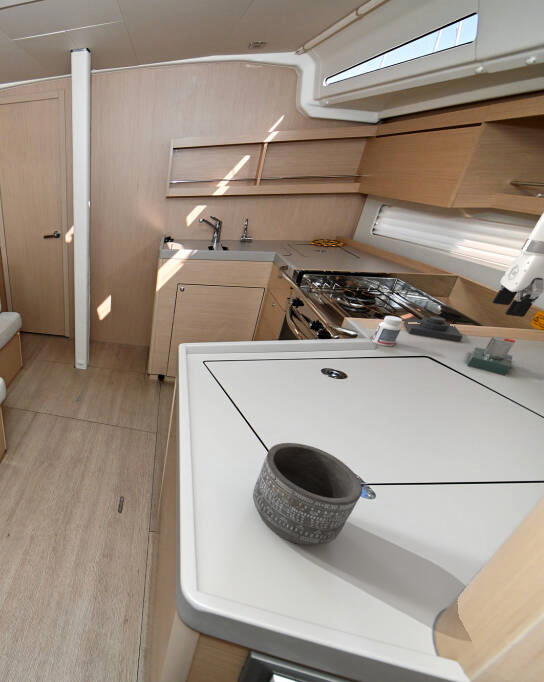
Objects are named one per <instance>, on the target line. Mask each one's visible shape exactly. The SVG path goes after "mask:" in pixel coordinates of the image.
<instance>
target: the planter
mask: <svg viewBox="0 0 544 682" xmlns="http://www.w3.org/2000/svg"><path fill="white" fill-rule="evenodd" d="M362 493H363V486H362V483H361V480H360V479H359V478H358V476H357V474H356V473H355V472H354V471H353V470H352V469H351V468H350V467H349V466H348V465H346V463H344V462H343V461H342V460H340V459H338V458H337V457H335V456H334V455H332V454H330V453H328V452H327V451H324V450H322V449H320V448H317V447H314V446H311V445H307V444H303V443H297V442H282V443H278V444H277V443H276V444H274V445H273V446H272V447H270V448H269V450H268V452H267V454H266V457H265V459H264V461H263V463H262V466H261V469H260V471H259V474H258V477H257V480H256V482H255V485H254V487H253V491H252V499H253V503H254V506H255V508H256V511H257V513H258V515H259V517H260V519H261V520H262V522H263V523H264V524H265V525H266V527H267V528H268V529H270V531H271V532H273V533H274V534H275V535H277V536H278V537H280V538H282V539H284V540H285V541H287V542H289V543H293V544H296V545H300V546H317V545H323V544H328V543H331V542H333V541H334V540H336V539H337V538H338V536H339V534H340V533H341V531H342V530H343V528H344V526H345V524H346V522H347V521H348V519H349V517H350V515H352V512H353V510H354V509H355V507H356V505H357V503H358V501H359V499H360V497H362Z"/></svg>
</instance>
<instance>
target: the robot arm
mask: <svg viewBox="0 0 544 682" xmlns="http://www.w3.org/2000/svg"><path fill="white" fill-rule="evenodd" d="M519 252H520V253H519V254H518V255H517V256H516V258H515V259H514V260H513V261H512V263H511V264H510V266H509V267H508V269H507V270H506V271H505V273H504V274H503V276H502V278H501V279H500V281H499V283H500V285H501V286H500V289H499V290H498V292H497V294H495V296H494V298H493V300H492V304H495V305H504V306H508V308H507V309H506V311H505V313H504V314H505V315H506V316H511V317H520V318H524V317H525V316H526V315H527V313H528V311H529V310H530V308H531V307H532V306H533V304H535V302H536V300H538V299H539V296H541V295H542V294H543V292H544V212H543V213H542V214H541V216H540V218H539V219H538V220H537V222H536V224H535V226H534V228H533V229H532V231H531V232H530V234H529V236H528V237H527V239H526V240H525V242H524V244H523V246H522V247H521V248H520V250H519ZM515 297H516V299H515Z"/></svg>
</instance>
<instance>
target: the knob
mask: <svg viewBox="0 0 544 682" xmlns="http://www.w3.org/2000/svg"><path fill="white" fill-rule="evenodd" d="M516 342H517V341H516V339H512V338H509V337H505V336H499V335H494V336H492V337H491V339H490V341H489V342H488V344H487V346H486V347H485V348H484V349H485V350H484V352H483V353H482V354H483V355H484V356H486V357H489V358H492V359H498V360H502V359H504V358H505V356H506V355H508V353H509V352H510V351H511V349H512V348H513V346H514V345H515V343H516Z"/></svg>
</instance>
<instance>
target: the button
mask: <svg viewBox="0 0 544 682" xmlns="http://www.w3.org/2000/svg"><path fill="white" fill-rule="evenodd" d="M428 318H429V320H428V322H430V323H434V324H440V325H443V323H444V321H445V322H446V319H445V318H444V317H441V316H435V315H431V316H429V317H428Z"/></svg>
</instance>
